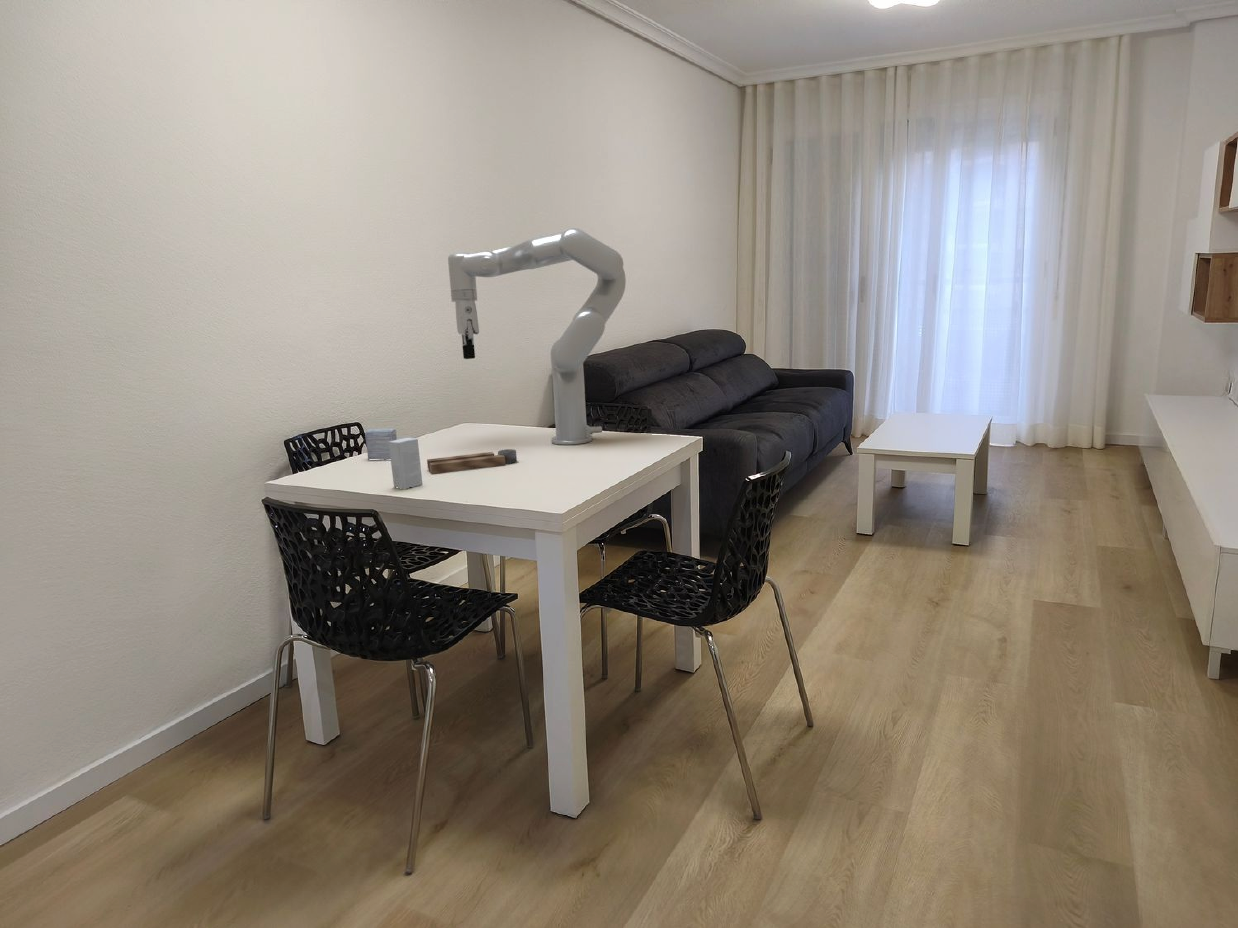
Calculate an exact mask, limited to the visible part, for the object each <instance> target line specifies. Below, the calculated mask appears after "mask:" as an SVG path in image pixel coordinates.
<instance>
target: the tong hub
mask: <svg viewBox="0 0 1238 928" xmlns="http://www.w3.org/2000/svg"><path fill="white" fill-rule="evenodd" d="M517 459H518V457H517V449H501V450H498V451H497V455H496V454H494V456H485V457H477V458H468V459H460V460H451V461H442V462H434V463H429V465H430V470H429V472H430V474H431V475H437V473H438V474H445V473H454V472H461V471H469V470H470V471H471V470H479V469H485V468H495V467H502V466H506V465H514V464H516V463H517V462H518V460H517Z"/></svg>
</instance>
